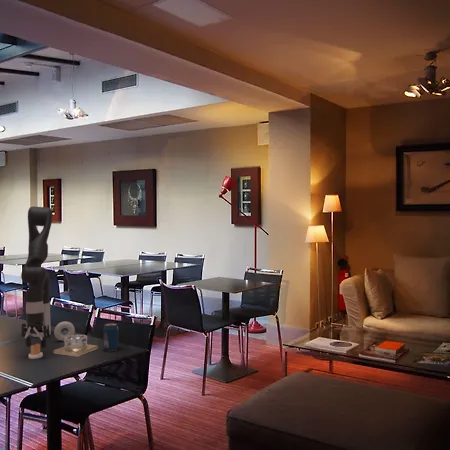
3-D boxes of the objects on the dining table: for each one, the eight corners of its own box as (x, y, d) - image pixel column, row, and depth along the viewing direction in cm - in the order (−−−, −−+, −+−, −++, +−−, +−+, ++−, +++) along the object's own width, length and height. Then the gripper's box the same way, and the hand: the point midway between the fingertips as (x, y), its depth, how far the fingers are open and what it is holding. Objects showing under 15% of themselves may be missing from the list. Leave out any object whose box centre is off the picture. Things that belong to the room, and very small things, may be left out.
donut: (54, 343, 254) (54, 323, 253) (54, 341, 257) (53, 321, 257) (75, 340, 258) (75, 321, 257) (74, 339, 261) (74, 319, 261)
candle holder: (53, 353, 235) (53, 339, 234) (74, 346, 247) (73, 332, 247) (78, 356, 229) (77, 342, 229) (97, 348, 242) (97, 335, 242)
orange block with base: (25, 358, 228) (25, 345, 228) (35, 354, 234) (35, 342, 234) (35, 359, 226) (35, 347, 226) (45, 355, 231) (45, 343, 231)
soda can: (119, 347, 243) (119, 322, 243) (117, 351, 236) (116, 325, 236) (105, 347, 243) (104, 322, 243) (102, 351, 236) (101, 326, 236)
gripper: (53, 310, 230) (54, 346, 230) (29, 309, 235) (29, 344, 236) (41, 313, 223) (42, 350, 223) (16, 311, 229) (17, 347, 229)
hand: (35, 347), depth 229 cm, fingers open, 8 cm apart
